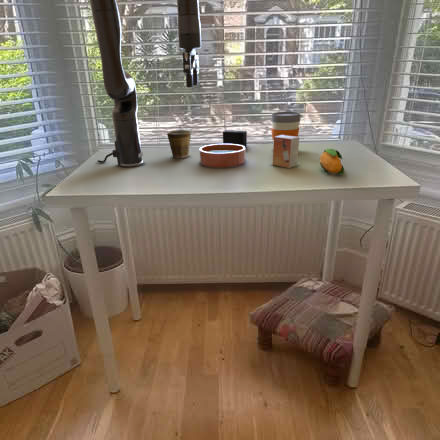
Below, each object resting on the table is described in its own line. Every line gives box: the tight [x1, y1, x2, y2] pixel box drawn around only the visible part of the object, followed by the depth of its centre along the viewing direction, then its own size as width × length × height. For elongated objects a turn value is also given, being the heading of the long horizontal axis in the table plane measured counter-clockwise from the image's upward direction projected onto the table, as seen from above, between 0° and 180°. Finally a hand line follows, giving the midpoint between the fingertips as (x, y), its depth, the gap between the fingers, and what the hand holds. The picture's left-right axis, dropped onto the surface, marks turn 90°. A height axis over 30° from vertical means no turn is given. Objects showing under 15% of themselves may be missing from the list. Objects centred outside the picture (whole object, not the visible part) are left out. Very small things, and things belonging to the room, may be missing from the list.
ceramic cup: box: [166, 129, 192, 159], centre depth 171 cm, size 13×10×10 cm
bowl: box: [199, 143, 246, 169], centre depth 160 cm, size 18×18×6 cm
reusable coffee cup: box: [270, 111, 302, 144], centre depth 173 cm, size 13×13×15 cm
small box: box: [272, 135, 300, 169], centre depth 151 cm, size 8×6×10 cm
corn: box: [319, 148, 345, 176], centre depth 141 cm, size 7×8×20 cm
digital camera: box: [222, 129, 248, 148], centre depth 185 cm, size 10×5×7 cm, turn 66°
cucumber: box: [209, 151, 236, 153], centre depth 160 cm, size 13×4×4 cm, turn 81°
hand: (192, 86), depth 142 cm, fingers open, 8 cm apart
